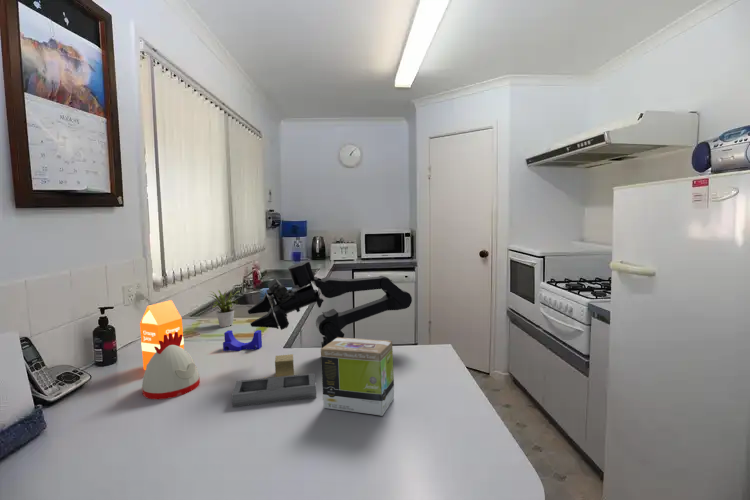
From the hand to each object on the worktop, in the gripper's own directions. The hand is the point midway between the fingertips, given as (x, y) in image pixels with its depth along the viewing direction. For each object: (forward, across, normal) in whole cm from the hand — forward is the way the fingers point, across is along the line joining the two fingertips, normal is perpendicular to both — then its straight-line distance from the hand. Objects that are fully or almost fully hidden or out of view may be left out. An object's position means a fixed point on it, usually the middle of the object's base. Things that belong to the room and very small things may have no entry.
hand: (249, 318), depth 121 cm
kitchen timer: (+25, +8, +7) cm, 27 cm away
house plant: (+15, -51, +22) cm, 58 cm away
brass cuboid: (-4, +12, +15) cm, 20 cm away
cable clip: (+7, -17, +18) cm, 25 cm away
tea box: (-18, +38, +15) cm, 44 cm away
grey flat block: (-1, +25, +11) cm, 27 cm away
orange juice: (+29, -10, +10) cm, 32 cm away
